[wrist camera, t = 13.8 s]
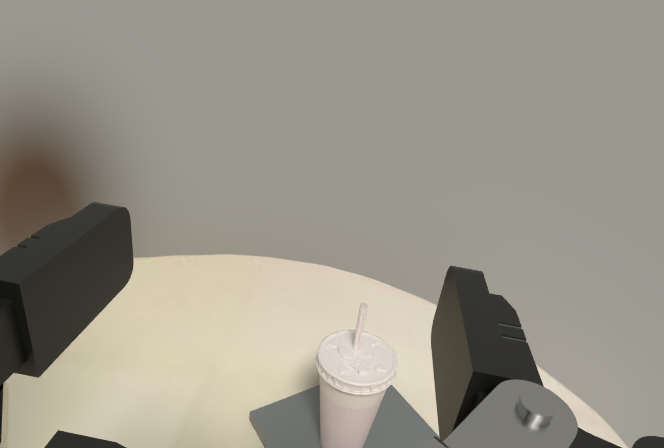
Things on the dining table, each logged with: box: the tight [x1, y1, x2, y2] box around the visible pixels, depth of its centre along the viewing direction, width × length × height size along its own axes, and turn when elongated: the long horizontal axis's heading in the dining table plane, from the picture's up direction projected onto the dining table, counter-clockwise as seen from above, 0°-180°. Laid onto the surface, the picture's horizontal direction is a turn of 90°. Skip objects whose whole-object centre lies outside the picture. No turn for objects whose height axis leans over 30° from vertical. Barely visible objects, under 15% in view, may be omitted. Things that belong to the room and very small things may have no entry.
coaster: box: [250, 385, 440, 448], centre depth 41 cm, size 14×14×1 cm
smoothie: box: [316, 303, 397, 448], centre depth 38 cm, size 6×6×14 cm
